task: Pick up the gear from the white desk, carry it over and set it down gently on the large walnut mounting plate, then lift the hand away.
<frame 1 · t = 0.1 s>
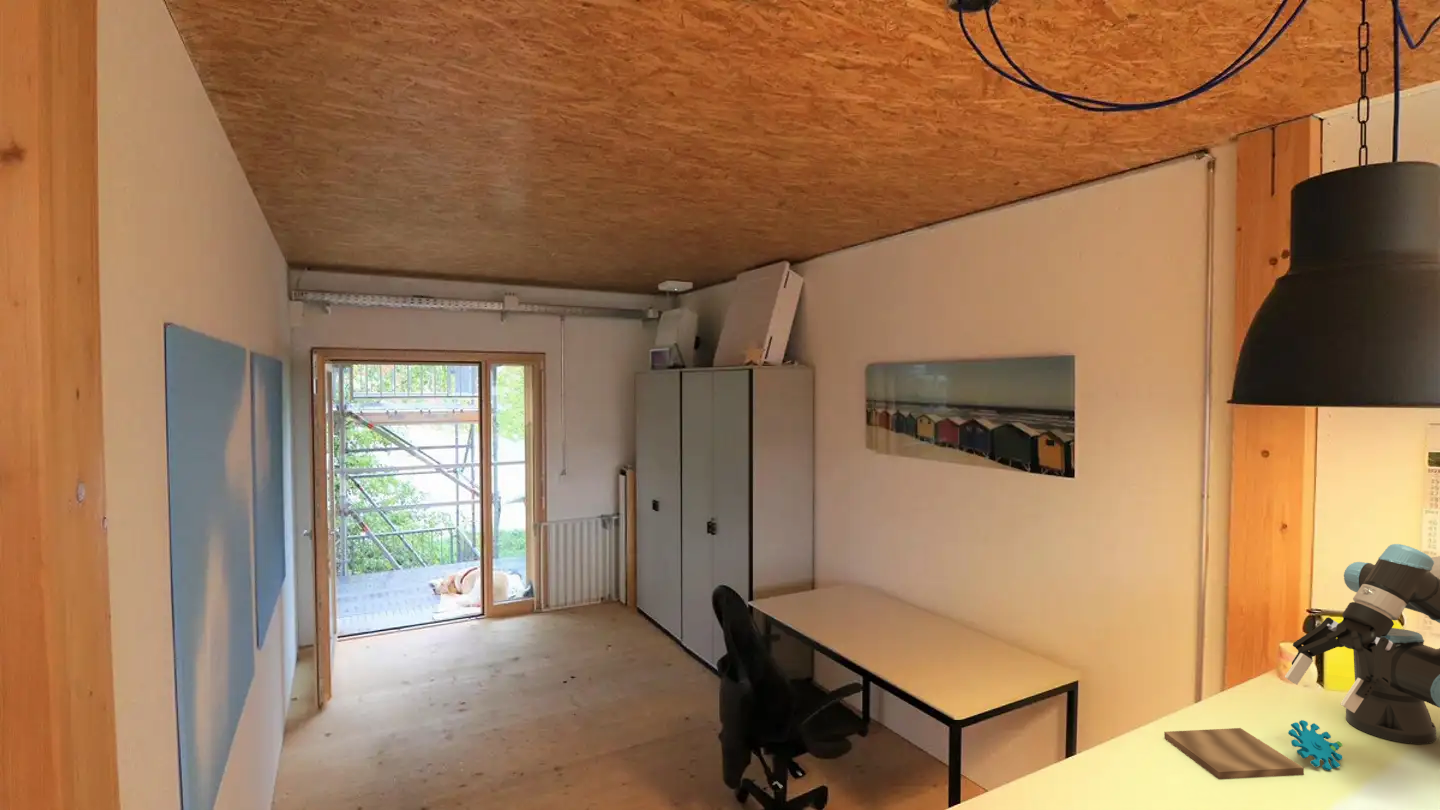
hand: (1317, 694, 146), 15 cm above the table, tool tilted 35°, fingers open, 13 cm apart
gear: (1317, 762, 148), on the table
mount plate: (1230, 755, 151), on the table
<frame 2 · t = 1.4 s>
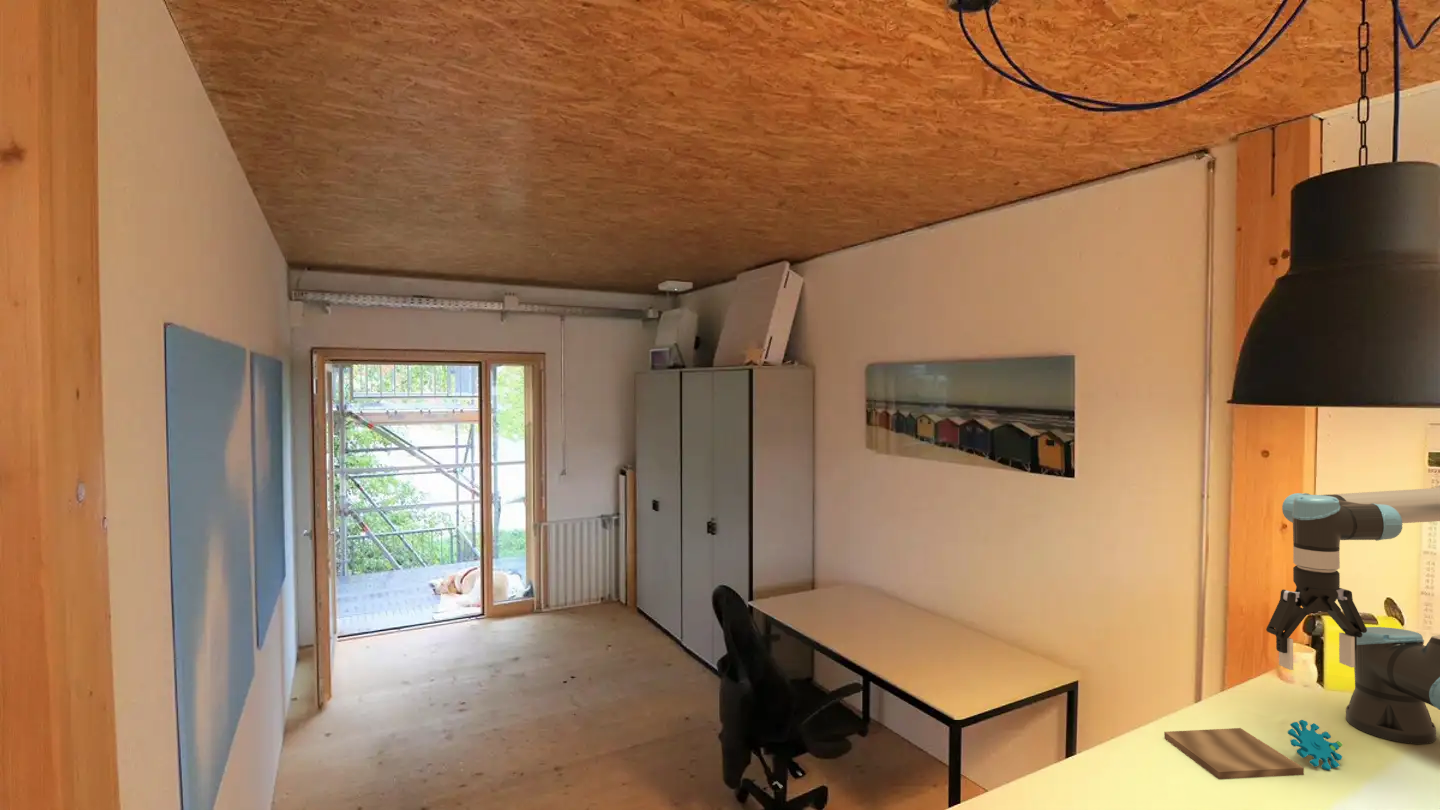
hand: (1316, 666, 147), 21 cm above the table, tool pointing down, fingers open, 13 cm apart
nothing on the table moved.
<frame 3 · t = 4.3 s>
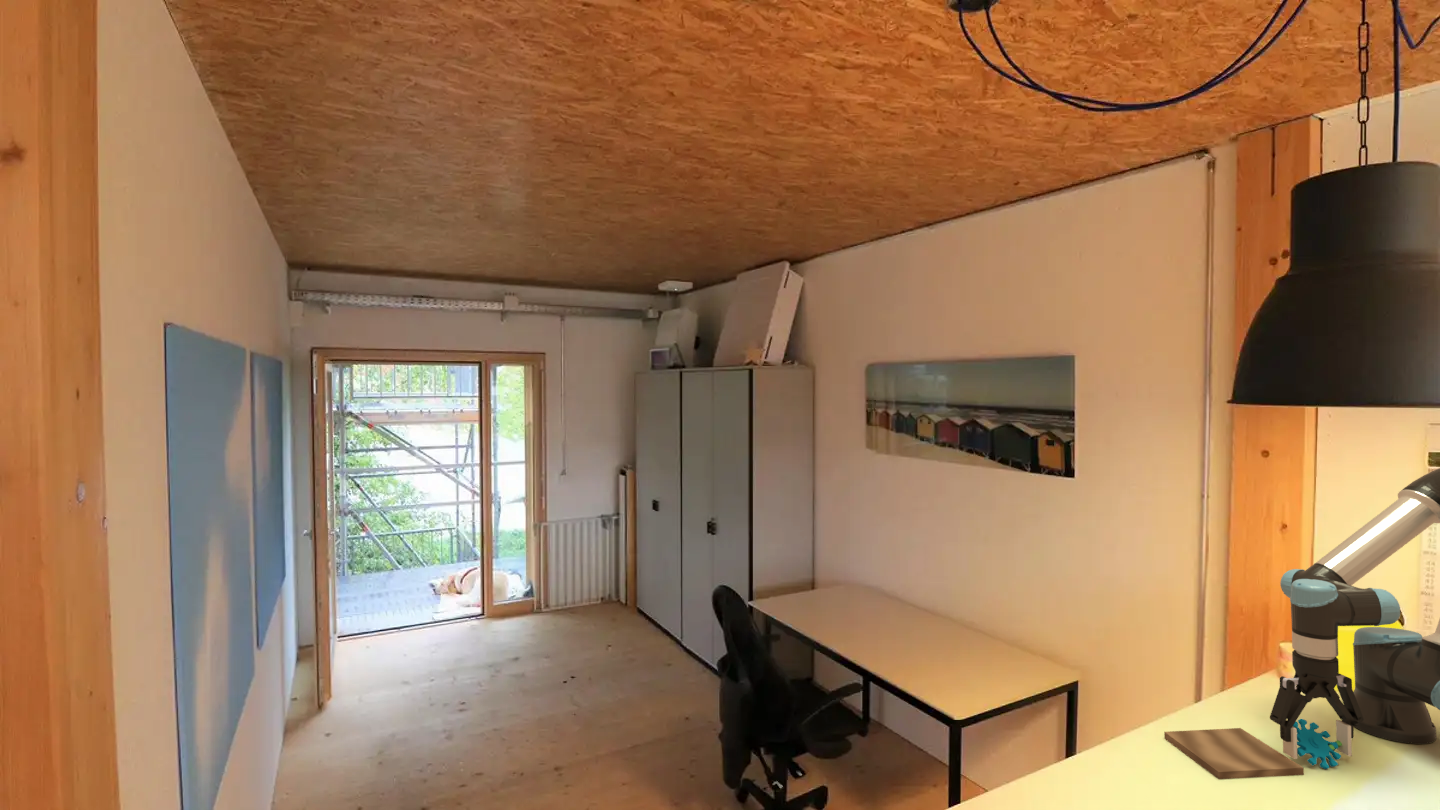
hand: (1317, 754, 148), 2 cm above the table, tool pointing down, fingers closed on gear, 11 cm apart
gear: (1315, 761, 148), on the table, touching gripper
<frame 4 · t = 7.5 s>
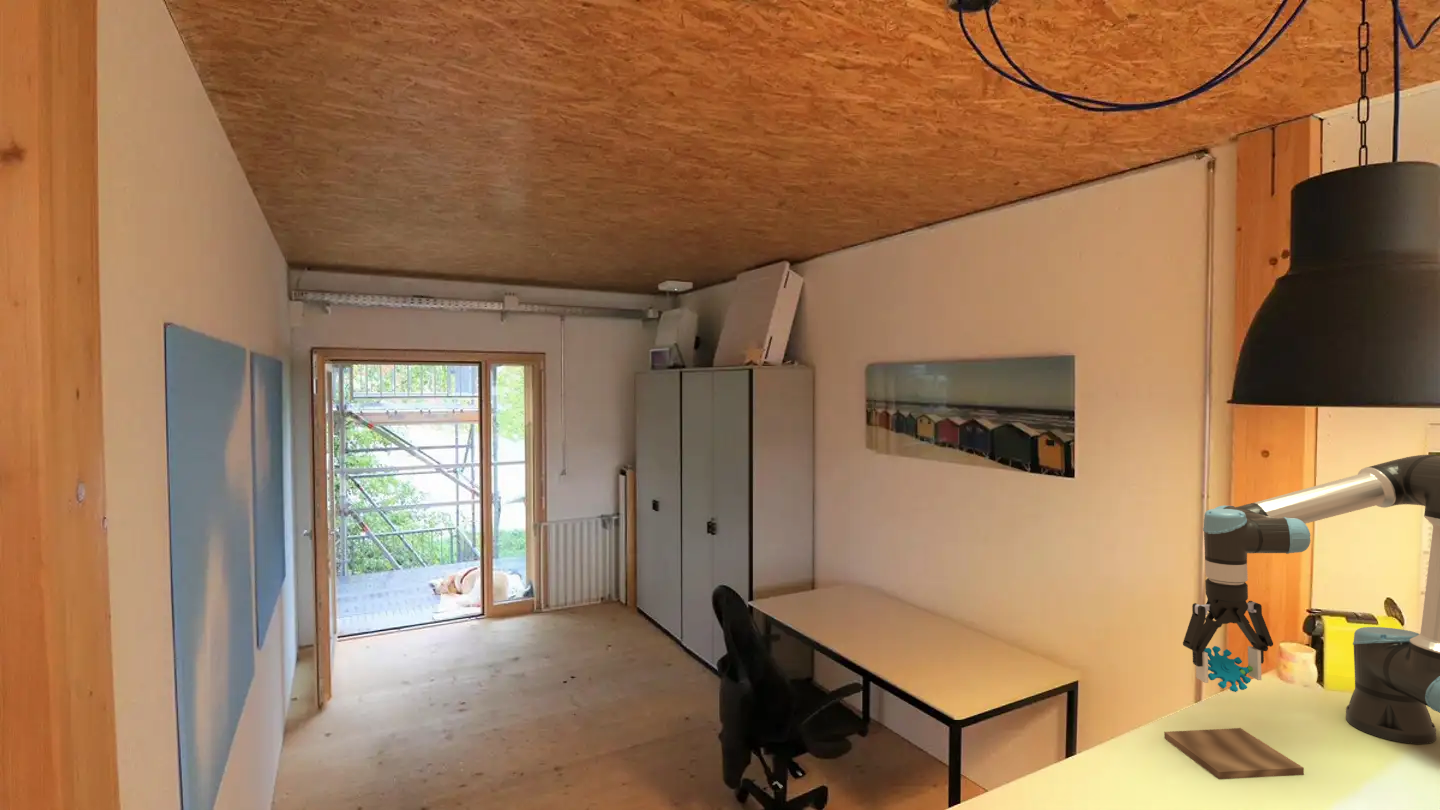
hand: (1228, 679, 151), 17 cm above the table, tool pointing down, fingers closed on gear, 11 cm apart
gear: (1227, 686, 152), point 15 cm above the table, touching gripper
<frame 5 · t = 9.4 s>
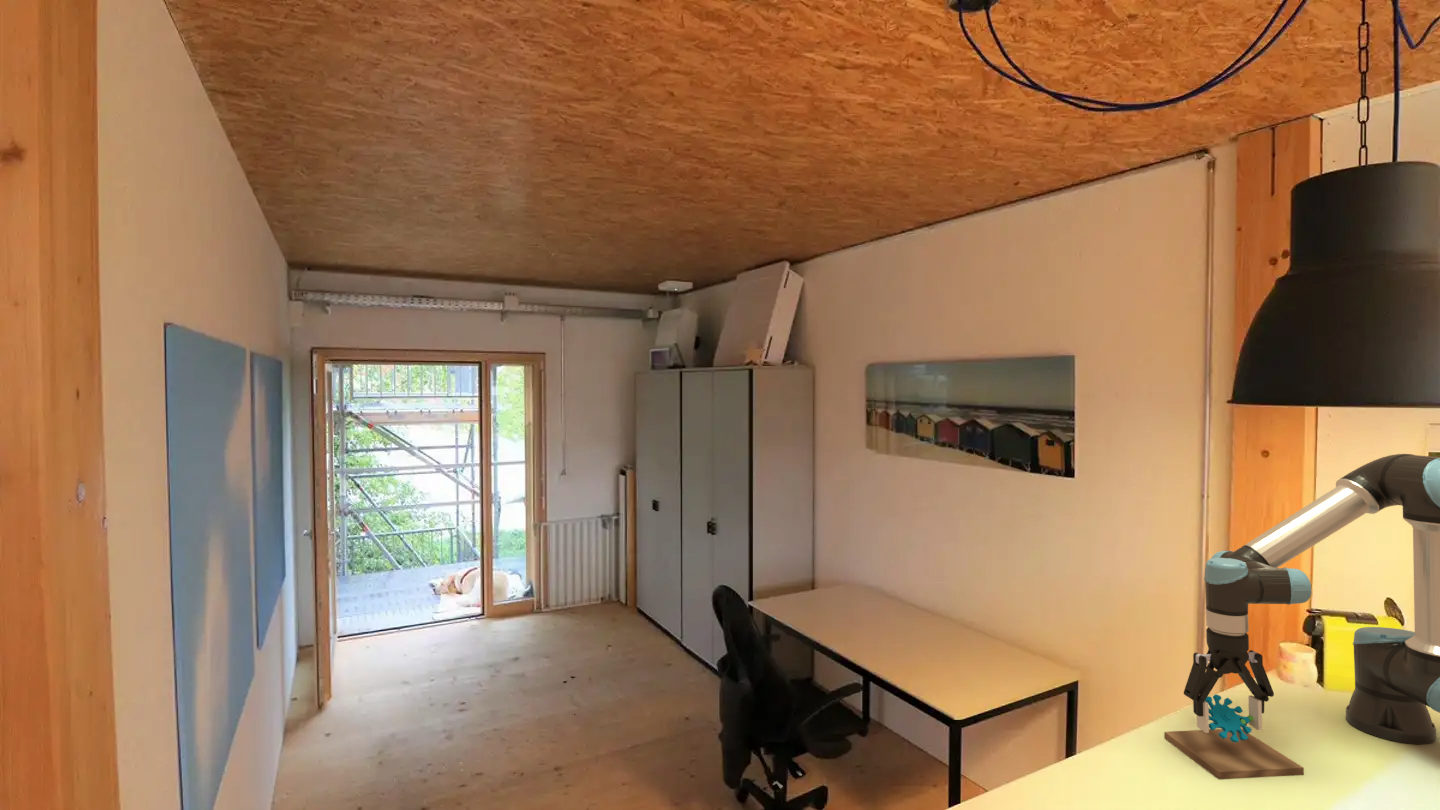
hand: (1229, 728, 151), 6 cm above the table, tool pointing down, fingers closed on gear, 11 cm apart
gear: (1228, 735, 152), point 4 cm above the table, touching gripper
when the fingers open (4 cm above the table, at t = 10.8 s): gear drops 1 cm, resting on mount plate.
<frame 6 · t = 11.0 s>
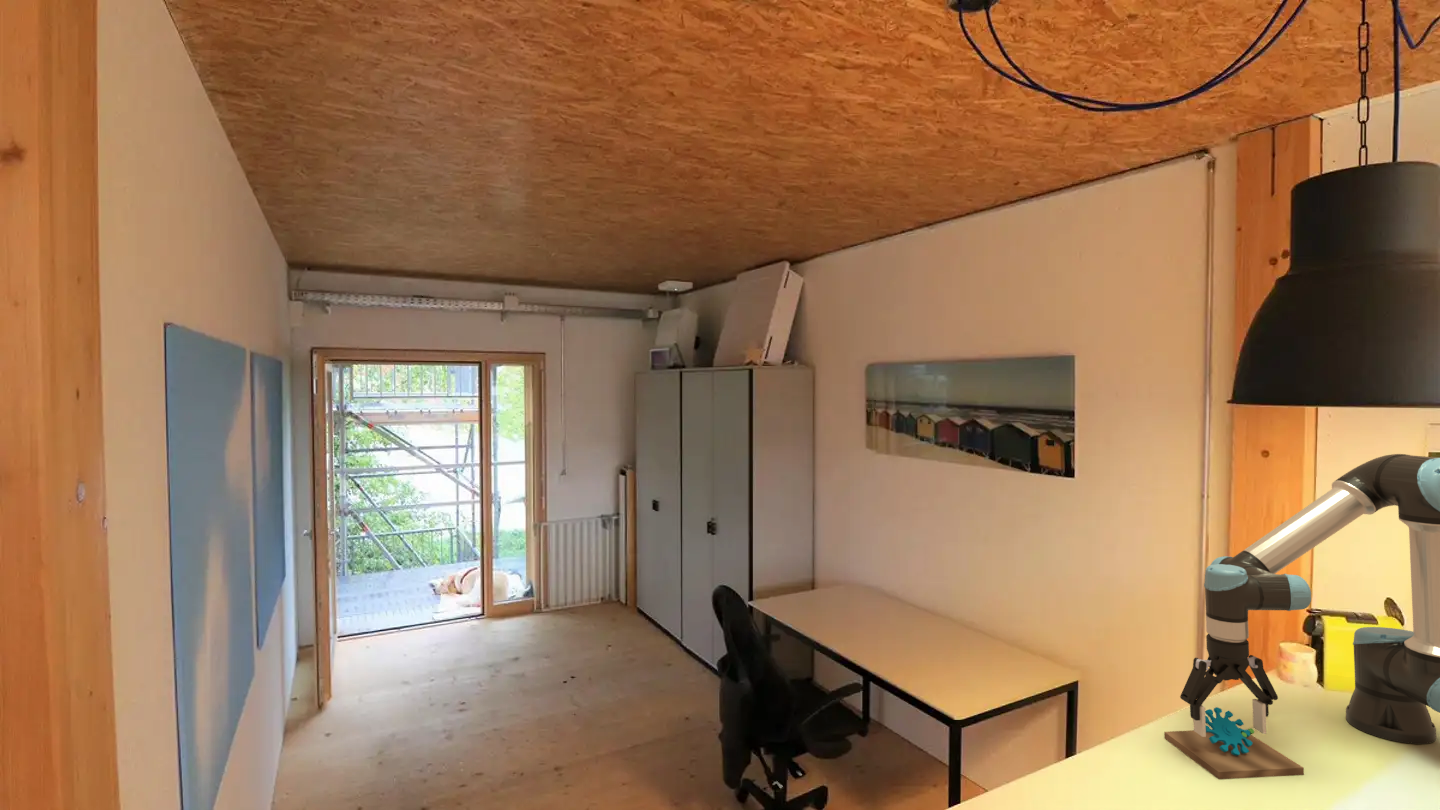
hand: (1229, 732, 151), 5 cm above the table, tool pointing down, fingers open, 13 cm apart
gear: (1229, 748, 152), point 1 cm above the table, touching mount plate
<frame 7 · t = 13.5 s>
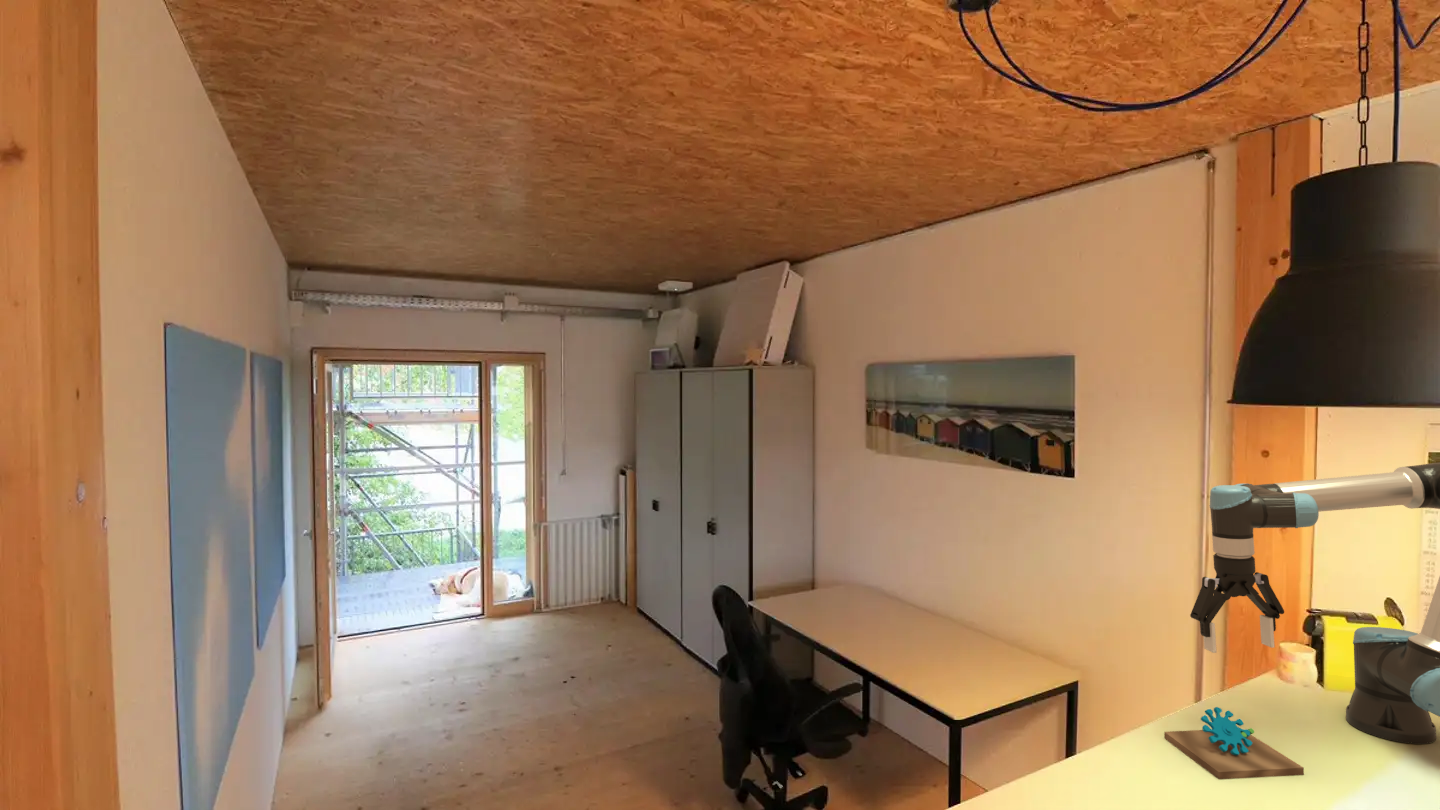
hand: (1239, 648, 155), 22 cm above the table, tool pointing down, fingers open, 13 cm apart
nothing on the table moved.
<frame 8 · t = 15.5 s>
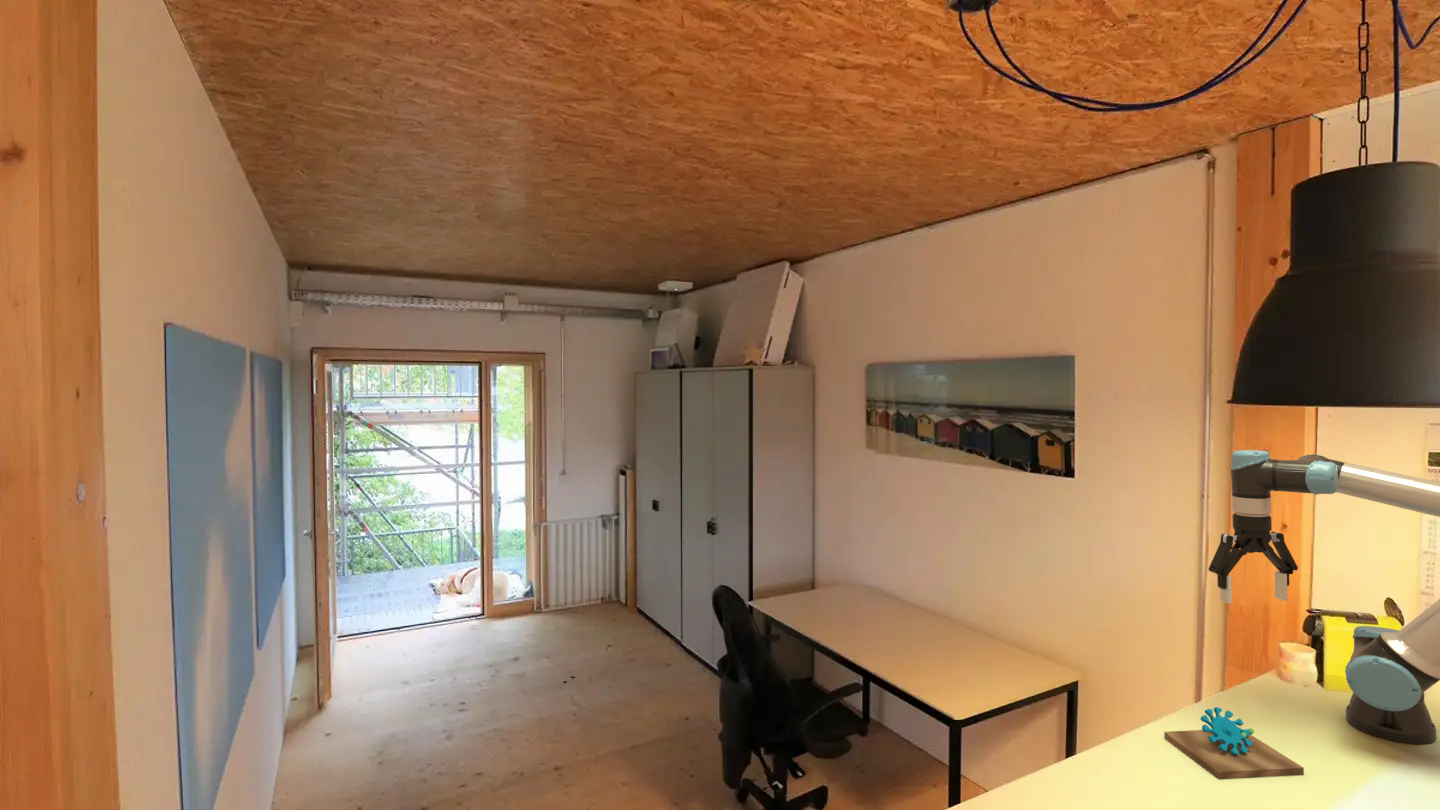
hand: (1253, 600, 167), 29 cm above the table, tool pointing down, fingers open, 13 cm apart
nothing on the table moved.
at the end: gear inside the target area on the mount plate (0.5 cm from its centre), point 1.3 cm above the mount plate's base; gear touching mount plate; the gripper is holding nothing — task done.
